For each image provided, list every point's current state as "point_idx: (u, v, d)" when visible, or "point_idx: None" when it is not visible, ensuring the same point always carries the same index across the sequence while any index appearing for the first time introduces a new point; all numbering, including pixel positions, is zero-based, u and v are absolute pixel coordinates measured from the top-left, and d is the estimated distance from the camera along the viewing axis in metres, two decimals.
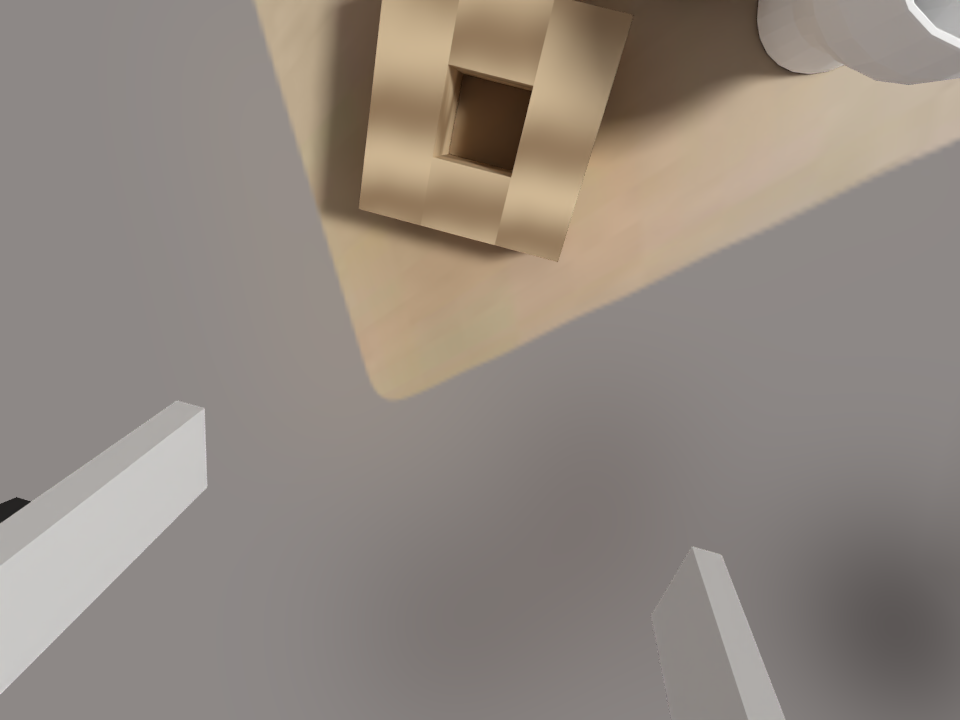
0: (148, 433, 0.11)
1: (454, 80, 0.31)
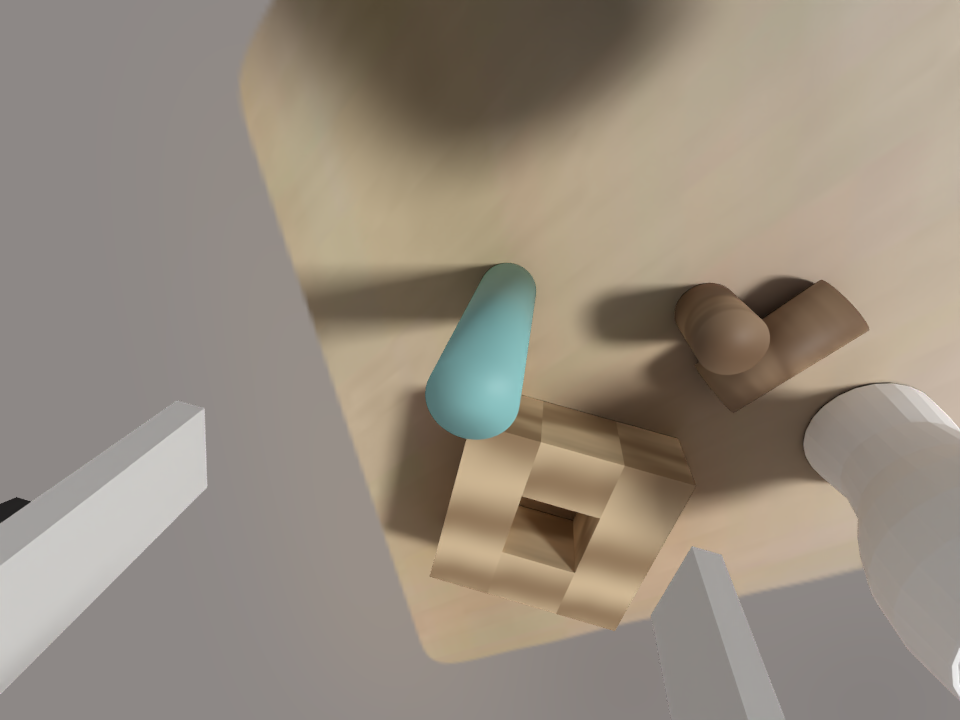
0: (148, 433, 0.11)
1: None
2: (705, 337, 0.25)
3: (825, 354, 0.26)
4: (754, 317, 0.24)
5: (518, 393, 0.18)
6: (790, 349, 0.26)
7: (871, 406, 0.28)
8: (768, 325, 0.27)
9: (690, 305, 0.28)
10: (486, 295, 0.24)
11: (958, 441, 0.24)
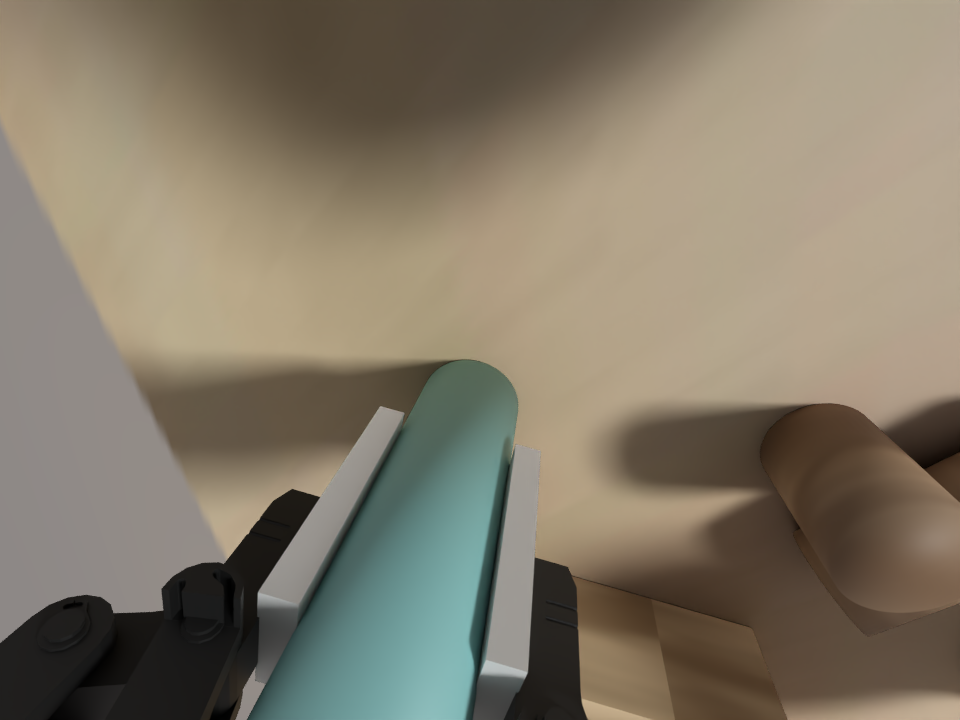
0: (375, 435, 0.13)
1: None
2: (856, 549, 0.12)
3: None
4: None
5: None
6: None
7: None
8: None
9: (802, 455, 0.15)
10: (402, 477, 0.11)
11: None
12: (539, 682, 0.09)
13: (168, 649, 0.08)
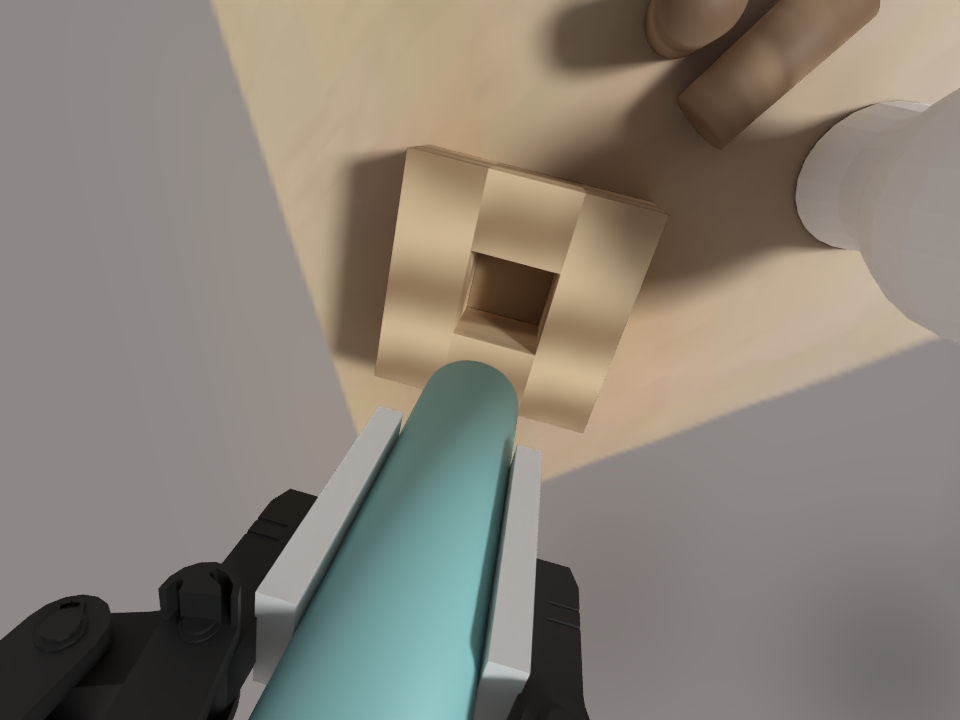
0: (373, 434, 0.13)
1: (475, 251, 0.30)
2: None
3: (827, 55, 0.23)
4: None
5: None
6: (798, 52, 0.22)
7: (873, 116, 0.24)
8: (772, 24, 0.23)
9: None
10: (403, 477, 0.12)
11: None
12: (541, 683, 0.09)
13: (165, 649, 0.08)
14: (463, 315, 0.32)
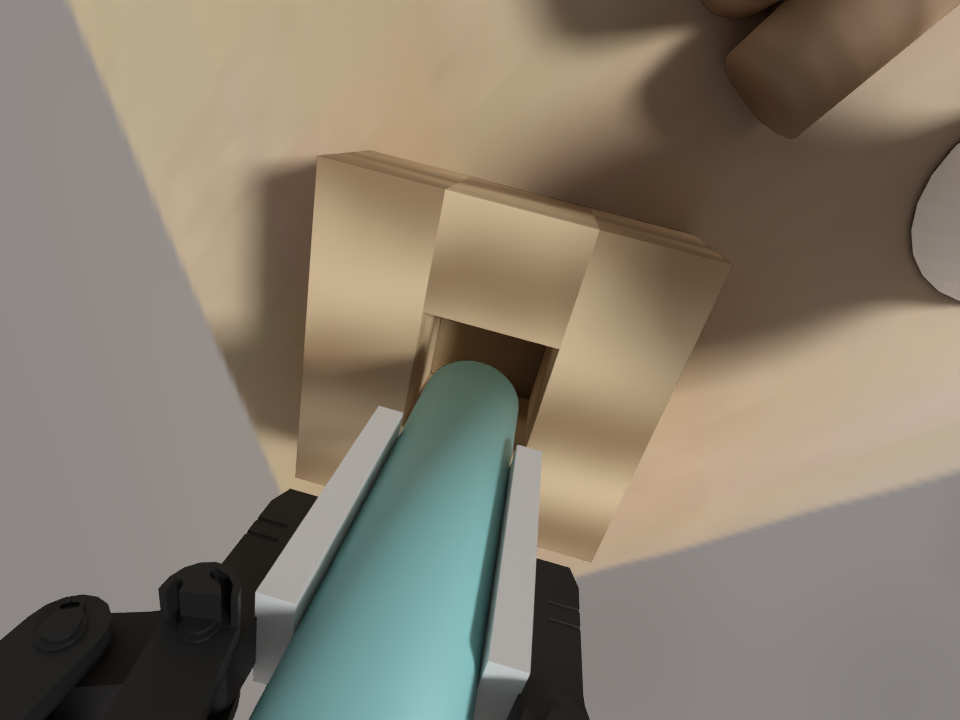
0: (373, 434, 0.13)
1: None
2: None
3: None
4: None
5: None
6: None
7: None
8: None
9: None
10: (402, 477, 0.12)
11: None
12: (541, 683, 0.09)
13: (165, 649, 0.08)
14: (423, 389, 0.23)
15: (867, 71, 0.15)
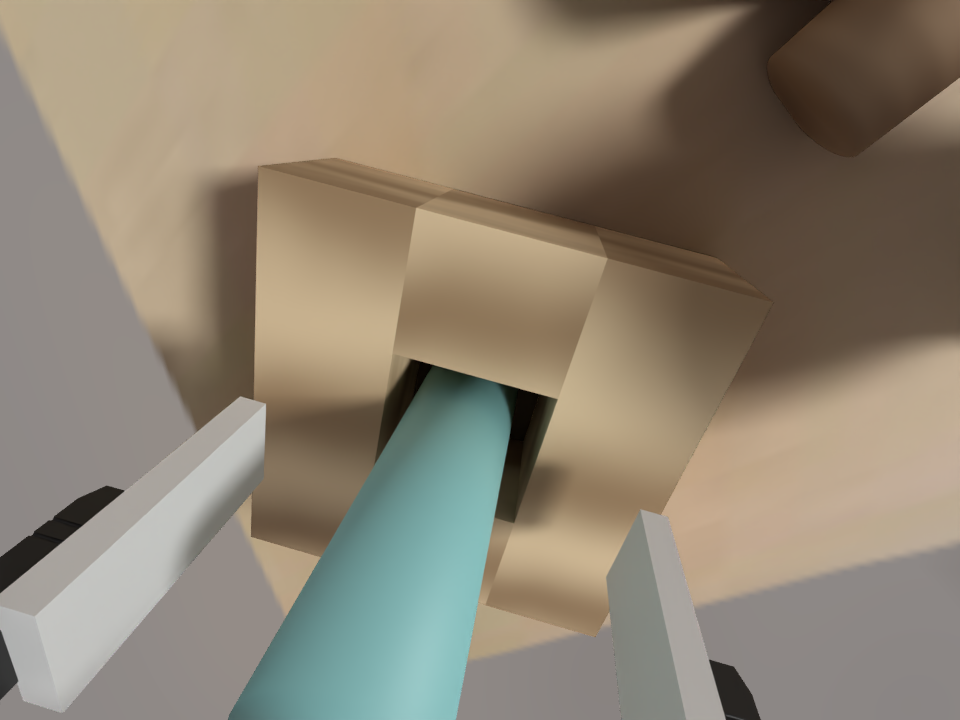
0: (219, 426, 0.12)
1: None
2: None
3: None
4: None
5: None
6: None
7: None
8: None
9: None
10: (420, 420, 0.14)
11: None
12: None
13: None
14: None
15: (947, 86, 0.12)
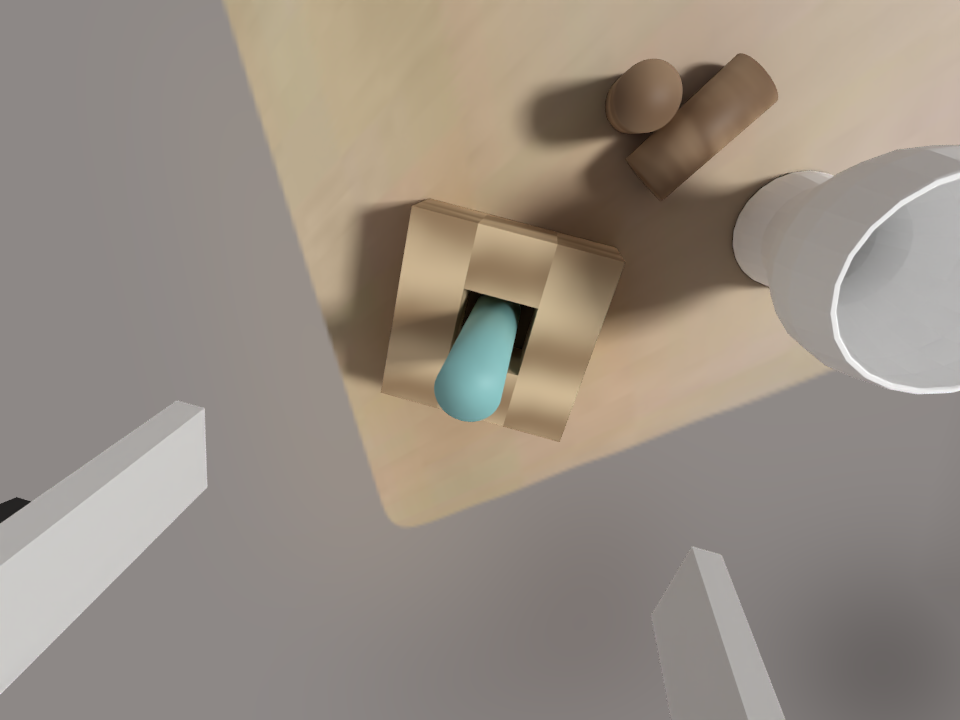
0: (148, 433, 0.11)
1: None
2: (623, 92, 0.27)
3: (740, 125, 0.28)
4: (666, 65, 0.26)
5: (500, 386, 0.25)
6: (709, 120, 0.28)
7: (788, 184, 0.30)
8: (689, 103, 0.29)
9: (614, 83, 0.29)
10: (478, 315, 0.31)
11: None
12: None
13: None
14: None
15: (690, 173, 0.30)
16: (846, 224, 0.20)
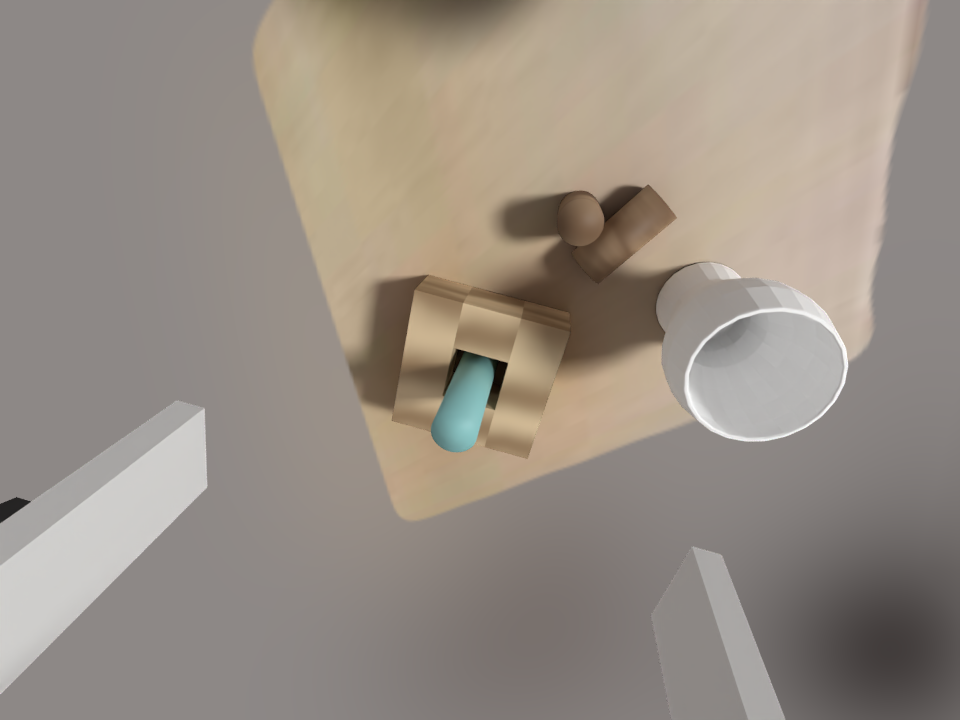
0: (148, 433, 0.11)
1: None
2: (563, 220, 0.38)
3: (649, 234, 0.39)
4: (591, 203, 0.37)
5: (476, 429, 0.36)
6: (625, 231, 0.39)
7: (690, 275, 0.41)
8: (614, 217, 0.40)
9: (561, 205, 0.40)
10: (464, 369, 0.43)
11: None
12: None
13: None
14: (450, 380, 0.49)
15: (616, 265, 0.41)
16: (692, 335, 0.31)
